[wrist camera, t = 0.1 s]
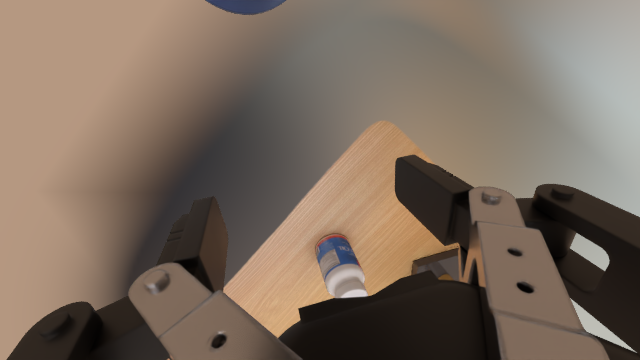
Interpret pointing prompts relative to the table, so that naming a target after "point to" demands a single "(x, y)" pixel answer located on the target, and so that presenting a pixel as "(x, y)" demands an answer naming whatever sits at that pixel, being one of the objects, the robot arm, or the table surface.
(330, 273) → the pill bottle
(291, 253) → the table surface
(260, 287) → the table surface
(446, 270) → the pole stand
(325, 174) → the table surface
